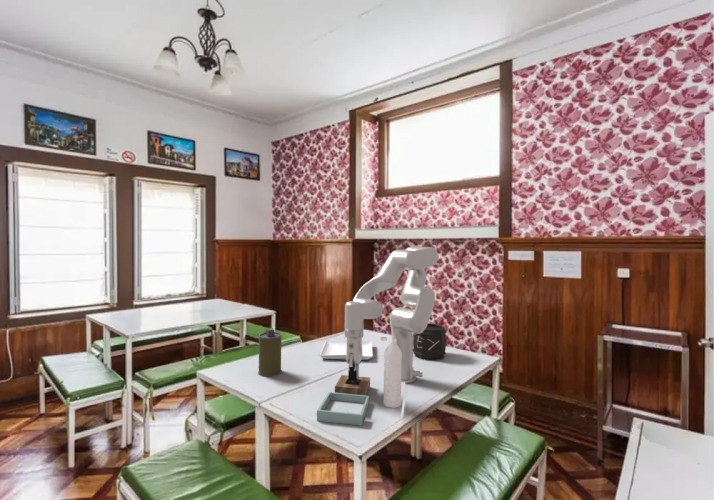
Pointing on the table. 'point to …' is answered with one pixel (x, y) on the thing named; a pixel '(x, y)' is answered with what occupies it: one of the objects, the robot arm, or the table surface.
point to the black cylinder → (430, 343)
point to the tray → (342, 416)
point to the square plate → (344, 349)
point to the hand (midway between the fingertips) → (353, 377)
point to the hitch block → (353, 386)
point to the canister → (269, 353)
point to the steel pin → (357, 375)
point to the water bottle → (392, 374)
